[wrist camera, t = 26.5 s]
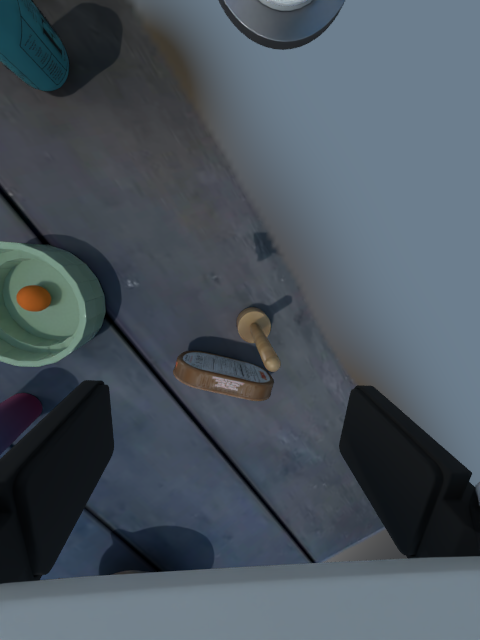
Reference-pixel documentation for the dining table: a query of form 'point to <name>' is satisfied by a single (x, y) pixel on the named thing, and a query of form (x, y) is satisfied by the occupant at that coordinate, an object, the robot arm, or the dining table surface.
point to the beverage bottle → (31, 46)
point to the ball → (33, 298)
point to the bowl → (59, 317)
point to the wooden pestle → (258, 335)
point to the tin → (223, 375)
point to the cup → (17, 417)
